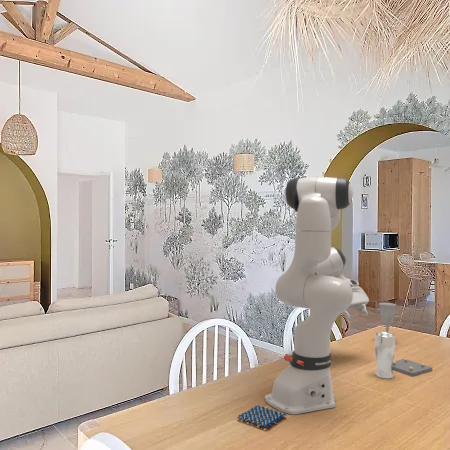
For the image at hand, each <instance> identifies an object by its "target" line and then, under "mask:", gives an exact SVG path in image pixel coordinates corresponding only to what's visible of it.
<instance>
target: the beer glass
mask: <svg viewBox="0 0 450 450" xmlns="http://www.w3.org/2000/svg"><path fill="white" fill-rule="evenodd" d="M374 337H375V338H374V353H375V359H376V370H375V376H376V377H378V378H381V379H393V378H394V370H392V365H393V361H394V357H395V355H396V354H395V353H396V338H395V334H394V333H390V332H389V333H386V331H383V332H382V331H380V332H376V333H375V335H374Z"/></svg>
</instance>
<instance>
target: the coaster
mask: <svg viewBox="0 0 450 450" xmlns="http://www.w3.org/2000/svg"><path fill="white" fill-rule="evenodd" d="M392 370H393V371H396V372H398V373H401V374H404V375H407V376H411V377H416V376H419V375H422V374H426V373H429V372H432V371H433V367H432V366H429V365H426V364H425V363H424V362H421V363H420V362H416V361H413V360H409V359H408V358H407V357H404V358H401V359H398V360H397V359H396V360H393V365H392Z"/></svg>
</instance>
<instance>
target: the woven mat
mask: <svg viewBox="0 0 450 450" xmlns="http://www.w3.org/2000/svg"><path fill="white" fill-rule="evenodd" d="M286 416H287V413H284V412H282V411H279V412H278V410H274V409H272V408H269V407H265V406H263V405H259V404H258V405H255V406H254V407H251V408H250V409H248V410H246V411H244V412H241V414H238V416H237V419H238V420H237V422H241V423H243V424H244V425H246V424H247V425H250V426H252V427H254V428H256V429H259V430H260V431H262V430H263V431H264V432H267V431H269V430H271V428H273V427H275V426H277V425H279V423H281V422H283V421H284V420H286V419H287V417H286Z"/></svg>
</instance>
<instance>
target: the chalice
mask: <svg viewBox="0 0 450 450" xmlns="http://www.w3.org/2000/svg"><path fill="white" fill-rule="evenodd" d="M378 304H379V306H380V310H379V311H380V312H379V313H380V317H381V320H382V323H383V324H384V325H385V332H386V333H390V332H389V330H390V327H389V325H391V324H392V323H393V321H394V319H395V315H396V313H395V312H396V310H395V309H396V306H397V304H396V303H392V302H379V303H378Z"/></svg>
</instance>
